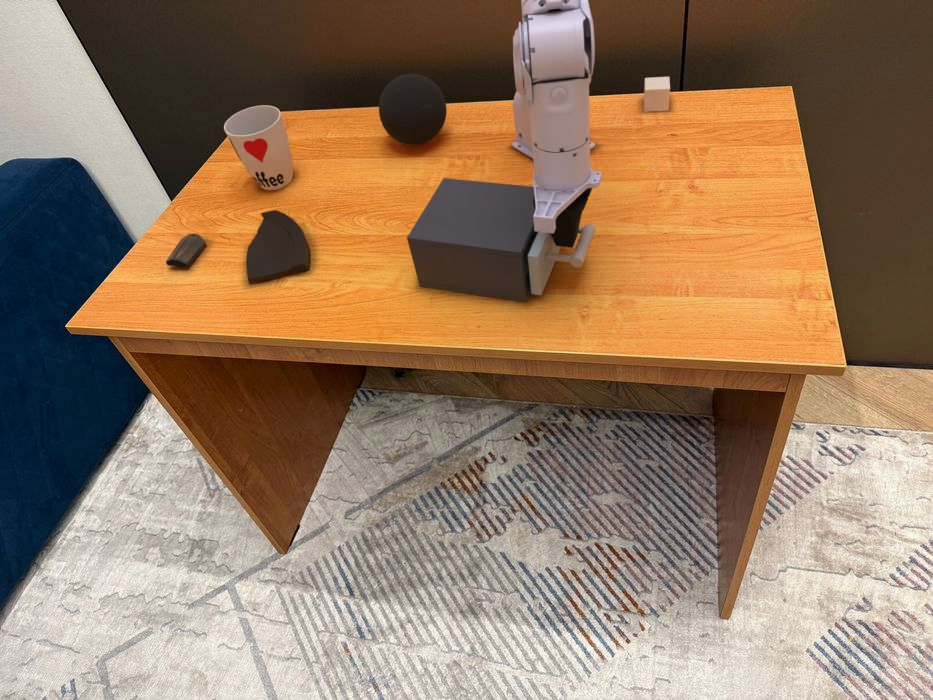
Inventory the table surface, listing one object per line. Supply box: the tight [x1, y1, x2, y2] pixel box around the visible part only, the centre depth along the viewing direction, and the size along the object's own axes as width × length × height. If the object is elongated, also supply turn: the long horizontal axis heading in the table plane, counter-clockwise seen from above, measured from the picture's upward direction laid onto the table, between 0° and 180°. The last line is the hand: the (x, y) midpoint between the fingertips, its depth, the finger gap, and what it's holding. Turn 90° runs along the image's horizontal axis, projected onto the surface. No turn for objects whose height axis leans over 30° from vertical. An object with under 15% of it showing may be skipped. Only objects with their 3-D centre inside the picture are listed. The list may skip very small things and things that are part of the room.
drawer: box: [523, 223, 596, 296], centre depth 81 cm, size 17×10×6 cm, turn 70°
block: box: [165, 233, 207, 268], centre depth 95 cm, size 4×6×2 cm, turn 171°
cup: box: [223, 104, 294, 191], centre depth 101 cm, size 8×8×10 cm
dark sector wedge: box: [245, 209, 312, 284], centre depth 93 cm, size 8×14×2 cm, turn 9°
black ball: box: [378, 73, 447, 146], centre depth 103 cm, size 10×10×10 cm
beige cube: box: [643, 76, 671, 113], centre depth 102 cm, size 4×4×4 cm
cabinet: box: [406, 177, 535, 303], centre depth 83 cm, size 14×12×8 cm
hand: (565, 242), depth 79 cm, fingers closed
